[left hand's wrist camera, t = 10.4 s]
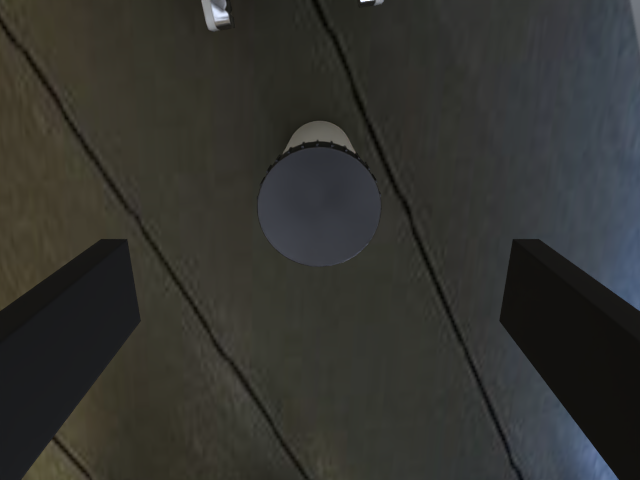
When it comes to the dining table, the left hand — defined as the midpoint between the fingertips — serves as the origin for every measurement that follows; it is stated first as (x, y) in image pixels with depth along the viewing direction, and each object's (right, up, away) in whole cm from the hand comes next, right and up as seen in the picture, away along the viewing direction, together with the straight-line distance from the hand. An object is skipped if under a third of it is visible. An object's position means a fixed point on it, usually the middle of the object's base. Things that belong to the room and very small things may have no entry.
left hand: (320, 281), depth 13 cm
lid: (0, +3, +8) cm, 8 cm away
